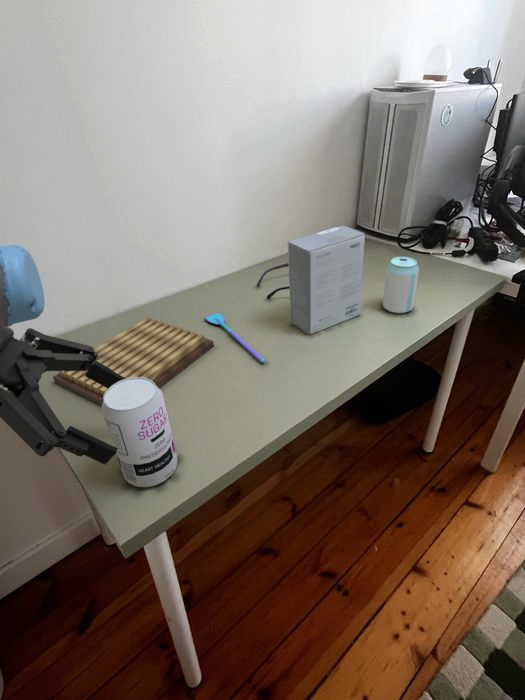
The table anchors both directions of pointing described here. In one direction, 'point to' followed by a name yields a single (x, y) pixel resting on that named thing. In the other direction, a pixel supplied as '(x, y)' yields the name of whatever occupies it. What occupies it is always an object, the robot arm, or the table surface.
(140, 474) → the supplement can
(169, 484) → the table surface
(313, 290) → the hard drive box
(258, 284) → the sunglasses
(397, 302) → the can
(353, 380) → the table surface
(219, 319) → the spoon
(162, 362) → the scrub board
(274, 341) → the table surface
